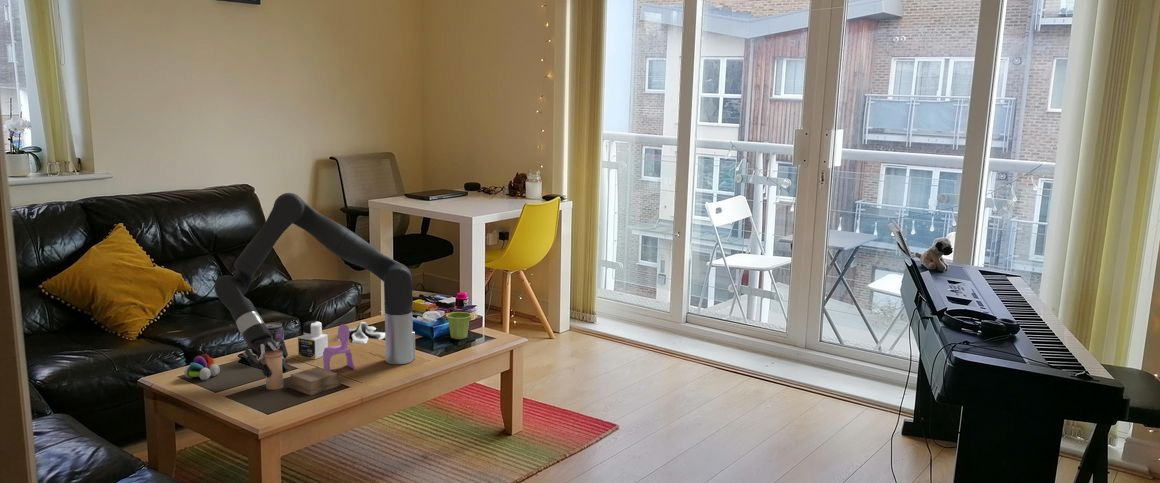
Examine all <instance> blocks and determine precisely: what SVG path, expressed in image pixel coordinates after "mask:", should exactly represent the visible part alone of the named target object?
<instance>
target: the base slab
mask: <svg viewBox="0 0 1160 483" xmlns="http://www.w3.org/2000/svg"><path fill="white" fill-rule="evenodd" d="M289 377H290V383H289V384H288V385H287V388H290V389H291V390H292V389H293V390H295V391H297V392H301V393H302V394H304V395H305V394H306V395H308V396H312V395H317V394H319V393H322V392H325V391H328V390H331V389H334V388H338V387H340V386H342V385H341V383H342V382H339V379H338V373H337V372H335V371H332V370H331V371H329V370H326V369H324V368H322V367H319V366H315V367H312V368H309V369H305V370H301V371H299V372H296V373H292V374H290V376H289Z"/></svg>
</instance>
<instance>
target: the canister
mask: <svg viewBox="0 0 1160 483" xmlns="http://www.w3.org/2000/svg"><path fill="white" fill-rule="evenodd" d="M282 355H283V352H282V351H279V350H272V351H267V352H265V353H264V357H265V362H266V364H267V365H268V367H269V369H270V371H271V373H272V375H271V377H269V378H267V376H265V388H266V390H271V391H272V390H273V391H275V390H281V389H282V388H284V373H283V366H282Z"/></svg>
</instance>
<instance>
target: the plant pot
mask: <svg viewBox="0 0 1160 483" xmlns="http://www.w3.org/2000/svg"><path fill="white" fill-rule="evenodd" d="M445 316H446V318H447V322H448V328H449V334H450V338H451V339H455V340H463V339H467V338H468V332H469V325H470V320H471V317H472V314H471V313H469V312H465V311H464V312H463V311H456V312H449V313H447V314H446V315H445Z"/></svg>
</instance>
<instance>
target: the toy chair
mask: <svg viewBox="0 0 1160 483" xmlns="http://www.w3.org/2000/svg"><path fill="white" fill-rule="evenodd" d="M337 329H338V330H337V338H338V339H339V340H340V341H339V342H340V343H341V344H339V345H333V346H328V347H326V348H324V352H323V356H322V358H323V359H322V360H323V361H322V362H323V367H324V368H323V369H326V370H329V371H332V369H331V366H330V364H331V359H332V357H333V356H336V355H341V354H344V355H345V358H346V365H347V366H348V367H350V368H351V369H353V370H354V371H356V367H355V364H354V362H353V353H352V352H351V348H348V344H349V339H350V337H349V329H350V327H349V325H348V324H347V323H346V324H345V323H344V324H340V325H339V326H338V328H337Z"/></svg>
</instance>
